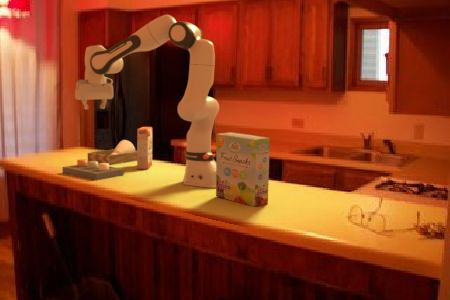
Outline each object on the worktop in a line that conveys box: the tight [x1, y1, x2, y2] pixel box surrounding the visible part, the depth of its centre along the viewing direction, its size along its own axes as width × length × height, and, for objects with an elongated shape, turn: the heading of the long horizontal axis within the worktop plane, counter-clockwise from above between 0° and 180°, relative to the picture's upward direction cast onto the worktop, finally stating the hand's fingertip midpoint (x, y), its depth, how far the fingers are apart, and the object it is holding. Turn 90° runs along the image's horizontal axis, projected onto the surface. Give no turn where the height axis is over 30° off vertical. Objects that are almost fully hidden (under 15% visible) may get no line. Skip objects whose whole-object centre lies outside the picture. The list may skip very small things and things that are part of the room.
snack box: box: [215, 131, 271, 208], centre depth 191 cm, size 22×9×26 cm, turn 45°
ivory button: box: [98, 163, 110, 172], centre depth 234 cm, size 5×5×4 cm
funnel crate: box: [87, 148, 137, 166], centre depth 279 cm, size 17×25×5 cm
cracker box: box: [136, 126, 153, 170], centre depth 259 cm, size 14×6×21 cm, turn 179°
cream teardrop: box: [109, 139, 136, 156], centre depth 278 cm, size 12×12×18 cm
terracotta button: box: [76, 158, 88, 168], centre depth 244 cm, size 5×5×4 cm
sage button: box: [87, 161, 98, 169], centre depth 239 cm, size 5×5×4 cm
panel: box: [62, 164, 125, 181], centre depth 239 cm, size 26×16×3 cm, turn 53°
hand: (94, 109), depth 236 cm, fingers open, 8 cm apart
